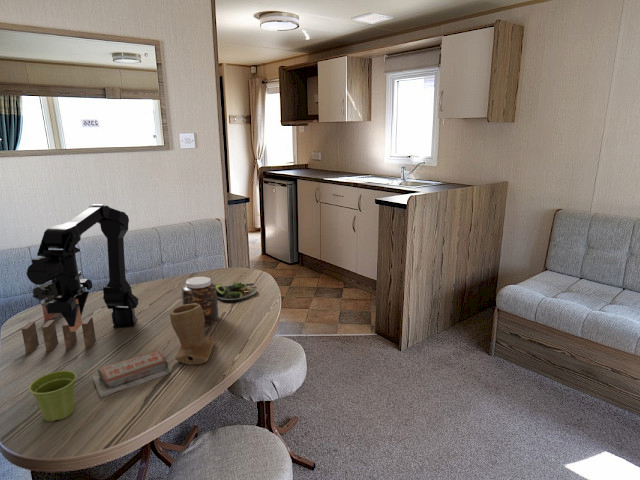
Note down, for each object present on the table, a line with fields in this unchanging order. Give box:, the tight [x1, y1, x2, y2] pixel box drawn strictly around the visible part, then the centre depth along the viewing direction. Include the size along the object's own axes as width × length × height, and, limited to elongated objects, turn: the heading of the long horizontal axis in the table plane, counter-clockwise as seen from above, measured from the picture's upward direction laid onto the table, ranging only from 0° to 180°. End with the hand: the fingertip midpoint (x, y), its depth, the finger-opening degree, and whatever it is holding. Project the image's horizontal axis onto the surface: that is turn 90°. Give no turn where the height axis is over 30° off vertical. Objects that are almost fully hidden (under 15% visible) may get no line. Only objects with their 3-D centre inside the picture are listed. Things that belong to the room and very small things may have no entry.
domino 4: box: [61, 320, 78, 350], centre depth 131 cm, size 2×5×8 cm, turn 12°
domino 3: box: [69, 299, 83, 332], centre depth 121 cm, size 2×5×8 cm, turn 12°
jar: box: [181, 276, 219, 327], centre depth 147 cm, size 12×12×15 cm
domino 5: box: [81, 316, 97, 348], centre depth 132 cm, size 2×5×8 cm, turn 12°
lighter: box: [40, 295, 64, 324], centre depth 150 cm, size 8×3×10 cm, turn 168°
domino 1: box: [21, 321, 40, 354], centre depth 129 cm, size 2×5×8 cm, turn 12°
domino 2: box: [41, 320, 59, 352], centre depth 130 cm, size 2×5×8 cm, turn 12°
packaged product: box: [92, 350, 172, 398], centre depth 114 cm, size 18×5×10 cm
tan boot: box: [169, 303, 215, 366], centre depth 124 cm, size 15×12×15 cm
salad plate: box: [215, 282, 258, 303], centre depth 174 cm, size 19×18×5 cm
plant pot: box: [28, 370, 77, 422], centre depth 98 cm, size 9×9×9 cm
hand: (75, 322), depth 121 cm, fingers closed on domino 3, 5 cm apart
